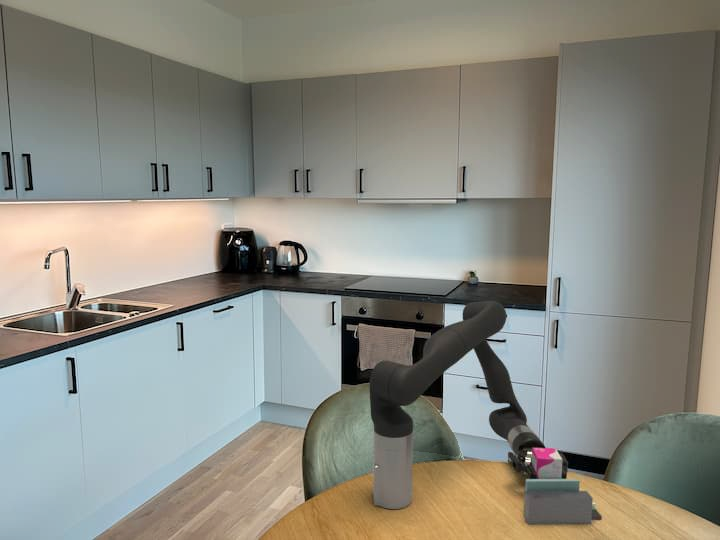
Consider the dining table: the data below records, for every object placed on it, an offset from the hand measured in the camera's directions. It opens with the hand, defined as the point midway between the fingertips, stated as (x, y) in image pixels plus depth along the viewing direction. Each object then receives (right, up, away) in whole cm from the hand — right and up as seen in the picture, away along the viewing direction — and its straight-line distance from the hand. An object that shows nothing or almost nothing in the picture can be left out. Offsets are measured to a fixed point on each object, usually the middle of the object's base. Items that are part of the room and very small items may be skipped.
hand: (549, 477), depth 122 cm
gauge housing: (+2, -7, -1) cm, 7 cm away
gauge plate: (+2, -7, -1) cm, 7 cm away
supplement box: (0, -6, +3) cm, 7 cm away
